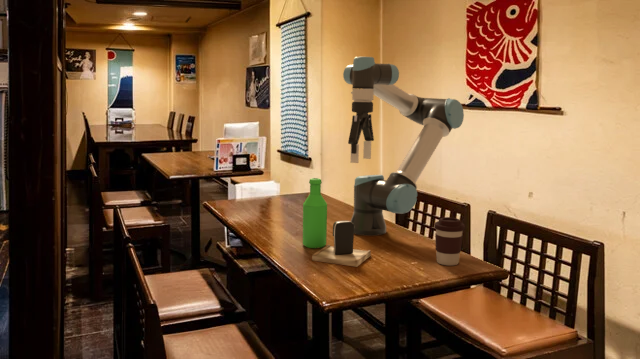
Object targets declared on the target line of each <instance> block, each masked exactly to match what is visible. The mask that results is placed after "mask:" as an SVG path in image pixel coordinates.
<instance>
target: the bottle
mask: <svg viewBox="0 0 640 359" xmlns="http://www.w3.org/2000/svg"><path fill="white" fill-rule="evenodd" d="M308 183H309V194H308V196H307V197H306V199H305V200H304V202H303V204H302V245H303V246H304V247H305V248H309V249H322V248H324V247H326V246H327V239H328V238H327V230H328V229H327V227H328V203H327V201H326V200H325V198H324V197H323V195H322V194H321V193H322V190H321V189H322V186H321V185H322V179H321V178H319V177H313V178H309V182H308Z"/></svg>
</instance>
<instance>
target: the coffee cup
mask: <svg viewBox="0 0 640 359" xmlns="http://www.w3.org/2000/svg"><path fill="white" fill-rule="evenodd" d="M433 224H434V225H433V227H434V229H435V234H434V235H435V236H434V237H435V251H436V252H435V253H436V262H437V264H439V265H442V266H446V267H447V266H451V267H452V266H456V265H458V264H459V262H460V255H461V252H462V245H463V232H464V231H465V228H466V225H465V224H464V223H463V222H462V221H461V219H459V218H456V217H447V216H446V217H445V216H444V217H441V218H439V219H438V220H437V221H434V223H433Z"/></svg>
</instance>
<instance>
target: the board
mask: <svg viewBox="0 0 640 359" xmlns="http://www.w3.org/2000/svg"><path fill="white" fill-rule="evenodd" d="M371 252H372V251H371V249H368V250H361V249H354V248H353V253H352V254H344V255H335V254H334V245H333V246H331V245H330V244H326V245H325V246H324V247H322V248H320V249H319V250H317V251H316V252H315V253H313V254H312V256H311V258H312V259H311V260H312V262H313V261H314V262H322V263H329V264H336V265H343V266H349V267H356V268H358V266H361V264H362V263H363V262H365V261H366V260H367V259H369V257H371V255H372V254H371Z"/></svg>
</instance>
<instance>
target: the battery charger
mask: <svg viewBox="0 0 640 359" xmlns="http://www.w3.org/2000/svg"><path fill="white" fill-rule="evenodd" d="M332 237H333V247H334V254H335V255H344V254H352V253H353V249H354V238H355V234H354V224H353V223H352V222H351V220H337V221H334V223H333V224H332Z"/></svg>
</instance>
